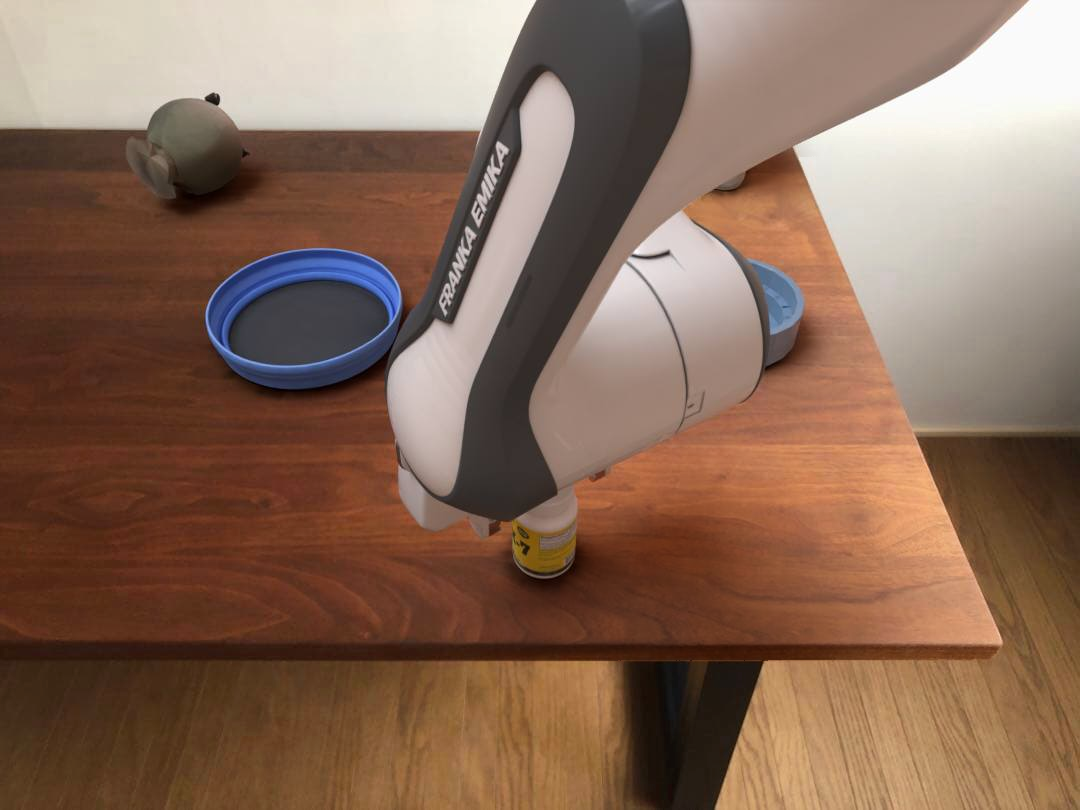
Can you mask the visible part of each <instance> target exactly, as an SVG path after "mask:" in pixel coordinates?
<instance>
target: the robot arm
mask: <svg viewBox="0 0 1080 810" xmlns="http://www.w3.org/2000/svg"><path fill="white" fill-rule="evenodd" d="M1028 2H1030V0H535V2H534V3H533V5H532V7H531V9H530V11H529V13H528V14H527V17H526V19H525V21H524V22H523V25H522V27H521V29H520V31H519V34H518V36H517V37H516V41H515V43H514V45H513V47H512V50H511V53H510V55H509V57H508V59H507V62H506V65H505V68H504V70H503V73H502V75H501V78H500V80H499V83H498V86H497V89H496V92H495V94H494V97H493V100H492V102H491V104H490V108H489V110H488V114H487V116H486V118H485V121H484V123H483V125H482V126H481V129H480V131H479V135H478V138H477V141H476V144H475V151H474V153H473V157H472V160H471V162H470V165H469V168H468V171H467V174H466V176H465V180H464V182H463V186H462V188H461V191H460V193H459V196H458V199H457V203H456V205H455V209H454V211H453V215H452V217H451V220H450V223H449V226H448V229H447V231H446V235H445V238H444V241H443V244H442V247H441V249H440V252H439V256H438V258H437V260H436V264H435V266H434V269H433V273H432V275H431V278H430V281H429V283H428V286H427V288H426V290H425V293H424V295H423V296H422V298H421V300H420V301H419V302H418V303H417V304H416V305H415V306H414V307H413V308H412V309H411V310H410V312H409V313H408V315H407V316H406V319H405V321H403V324H402V326H401V328H400V330H399V332H398V333H397V335H396V337H395V339H394V341H393V344H392V345H393V346H392V347H391V351H390V353H389V356H388V360H387V364H386V367H385V371H384V395H385V396H384V397H385V402H386V408H387V413H388V418H389V422H390V424H391V428H392V432H393V434H394V437H395V438H394V447H395V453H396V454H395V455H396V458H397V464H398V466H397V469H398V470H397V482H398V483H397V484H398V485H397V486H398V493H399V494H398V495H399V497H400V500H401V501H402V504H403V505H404V507H405V508H406V511H408V513H409V515H410V516H411V517H412V519H413V520H414V521H415V522H416V524H418V526H419V527H420V528H422V529H424V530H426V531H429V532H433V533H436V532H440V531H442V530H445V529H447V528H449V527H450V526H452V525H454V524H456V523H459V522H461V521H462V520H464V519H467V520H468V521H469V525H470V527H471V529H472V530H473V532H474V533H475V535H476V536H477V537H478V538H479V539H480V540H481V541H484V540H486V539H488V538H489V537H491V536H494V535H495V534H497V533H499V532H500V531H501V529H502V528H501V522H503V523H512V520H514V519H516V518H518V517H519V516H521V515H523V514H525V513H526V512H528V511H530V510H532V509H533V508H535V507H537V506H539V505H540V504H542V503H544V502H546V501H547V500H549V499H551V498H553V497H555V496H556V495H557V494H558V491H560V490H562V489H564V488H566V487H568V486H571V485H573V484H574V485H576V484H577V483H579V482H581V481H583V480H586V479H587V478H588V480H589V481H590V482H591V483H595V482H597V481H599V480H601V479H603V478H605V477H607V476H609V475H610V474H611V469H612V467H613V466H615V465H617V464H619V463H622V462H624V461H626V460H628V459H630V458H632V457H634V456H636V455H639V454H641V453H643V452H645V451H647V450H650V449H651V448H653V447H656V446H658V445H660V444H662V443H665V442H666V441H668V440H670V439H671V438H673V437H676V436H677V435H679V434H682V433H684V432H686V431H687V430H690V429H692V428H694V427H696V426H699V425H701V424H704V423H705V422H707V421H708V420H710V419H712V418H714V417H717V416H719V415H721V414H723V413H725V412H726V411H728V410H731V409H732V408H733V407H735V406H738V405H740V404H742V403H744V402H746V401H747V400H749V399H750V398H751V397H752V396H753V394H755V392H756V390H757V389H758V387H759V385H760V382H761V380H762V378H763V376H764V373H765V369H766V367H767V366H766V363H767V359H768V353H769V346H770V321H769V312H768V306H767V300H766V296H765V292H764V289H763V286H762V283H761V280H760V278H759V276H758V274H757V272H756V270H755V269H754V267H753V266H752V265H751V264H750V262H749V261H748V260H747V259H746V258H747V257H746V256H744V255H743V253H742V252H740V251H739V250H738V249H737V248H736V247H735V246H733V245H732V244H731V243H730V242H729V241H726V239H724V238H723V237H721V236H720V235H718V234H716V233H715V232H713V231H712V230H710V229H709V228H707V227H705V226H704V225H702V224H700V223H699V222H697V221H696V220H693V219H692V218H691V217H689V216H688V215H687V214H686V213H685V212H684V209H685V208H688V207H689V206H690V205H691V204H693V203H695V202H696V201H697V200H698V199H701V198H702V197H703V196H706V195H707V194H709V193H710V192H712V191H714V190H715V188H717V187H718V186H720V185H721V184H723V183H725V182H727V181H729V180H730V179H732V178H734V177H736V176H737V175H739V174H741V173H743V172H745V171H746V172H747V171H748V170H750V169H752V168H754V167H755V166H758V165H759V164H761V163H764V162H765V161H767V160H769V159H771V158H773V157H774V156H776V155H779V154H781V153H783V152H785V151H787V150H790V149H791V148H793V147H796V146H797V145H800V144H801V143H803V142H805V141H806V142H807V141H808V140H810V139H812V138H814V137H815V136H819V135H820V134H822V133H825V132H826V131H829V130H831V129H833V128H836V127H837V126H839V125H842V124H844V123H846V122H848V121H850V120H853V119H854V118H856V117H859V116H861V115H864V114H867V113H868V112H869V111H873V110H874V109H876V108H879V107H880V106H883V105H884V104H887V103H889V102H892V101H893V100H896V99H897V98H899V97H901V96H904V95H906V94H908V93H911V91H914V90H916V89H918V88H920V87H922V86H924V85H926V84H927V83H930V82H931V81H933V80H935V79H937V78H938V77H940V76H943V75H945V74H946V73H947V72H949V71H951V70H952V69H953V68H955V67H956V66H958V65H959V64H961V63H962V62H964V61H965V60H966V59H967V58H969V57H970V56H971V55H972V54H974V53H975V52H976V51H977V50H978V49H980V48H981V47H982V46H983V45H984V44H985V43H986V42H987V41H988V40H989V39H990V38H991V37H992V36H994V35H995V34H996V33H997V32H998V31H999V30H1000V29H1001V28H1002V27H1003V26H1004V25H1006V23H1008V22H1009V20H1011V19H1012V18H1013V17H1014V16H1015V15H1016V14H1017V13H1018V12H1019V11H1020V10H1021V9H1022V8H1023V7H1024V6H1025V5H1026V4H1027V3H1028Z"/></svg>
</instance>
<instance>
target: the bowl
mask: <svg viewBox="0 0 1080 810" xmlns="http://www.w3.org/2000/svg"><path fill="white" fill-rule="evenodd" d="M403 305H404V304H403V295H402V292H401V288H400V285H399V283H398V281H397V279H396V278H395V276H394V275H393V273H392V272H391V271H390V270H389V269H388V267H386V266H385V265H384V264H382V263H381V262H380V261H378V260H376V259H374V258H372V257H370V256H368V255H365V254H362V253H358V252H357V251H352V250H351V251H350V250H347V249H346V250H345V249H340V248H339V249H338V248H328V247H327V248H326V247H325V248H324V247H321V248H320V247H319V248H317V247H316V248H315V247H314V248H303V249H293V250H288V251H282V252H279V253H276V254H275V253H274V254H272V255H269V256H265V257H263V258H261V259H258V260H256V261H254V262H252V263H250V264H248V265H246V266H244V267H242V268H240V269H239V270H237V271H236V272H235V273H233V274H232V275H230V276H229V277H228V278H226V280H224V281H223V282H222V283H221V284H220V285H219V286H218V287H217V289H215V291H214V292H213V294H212V295H211V297H210V299H209V301H208V303H207V306H206V310H205V323H206V329H207V334H208V337H209V340H210V342H211V343H212V345H213V346H214V348H215V350H216V351H217V352H218V354H220V356H221V357H222V358H223V360H224V361H225V363H226V364H227V365H228V366H229V368H230V369H231V370H232V371H233V372H235V373H236V374H237V375H240V377H242V378H244V379H245V380H248V381H250V382H252V383H254V384H258V385H261V386H265V387H268V388H273V389H280V390H281V389H282V390H305V389H315V388H320V387H324V386H330V385H334V384H336V383H340V382H343V381H346V380H348V379H351V378H352V377H355V376H356V375H358V374H360V373H363V372H364V371H366V370H367V369H369V368H370V367H372V366H373V365H374V364H375V363H377V362H378V361H379V360H380V359H381V358H382V357H383V356H385V354H386V353H387V352H388V351H389V349H390V348H391V346H392V345H393V344H394V342H395V340H396V338H397V335H398V331H399V324H400V322H401V318H402V312H403Z"/></svg>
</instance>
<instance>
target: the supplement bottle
mask: <svg viewBox="0 0 1080 810" xmlns="http://www.w3.org/2000/svg"><path fill="white" fill-rule="evenodd" d="M578 516H579V503H578V498H577V496H576V494H575V484H573V485H571V486H568V487H566V488H564V489H562V490H560V491H558V494H557V495H556V496H555V497H553V498H551V499H549V500H547V501H546V502H544V503H542V504H540V505H539V506H537V507H535V508H533V509H532V510H530V511H528V512H526V513H525V514H523V515H521V516H519V517H518V518H516V519H514V520H512V521H511V531H512V532H511V535H512V536H511V537H512V538H511V539H512V543H511V545H512V557H513V560H514V563H515V564H516V566H517V567H518V568H519V569H520V570H521V571H522V572H523V573H524V574H526V575H528V576H530V577H532V578H534V579H535V578H536V579H543V580H544V579H545V580H546V579H552V578H556V577H558V576H561V575H562V574H565V572H567V571H568V570H569V568H570V567H571V566H572V564H573V563H574V560H575V555H576V545H577V533H578V532H577V531H578V530H577V529H578Z"/></svg>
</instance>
